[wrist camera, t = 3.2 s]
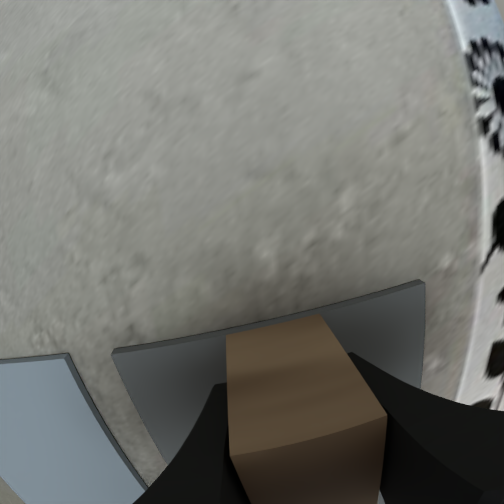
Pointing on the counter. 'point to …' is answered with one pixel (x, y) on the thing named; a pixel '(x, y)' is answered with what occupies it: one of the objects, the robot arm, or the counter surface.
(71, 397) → the slate mat
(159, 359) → the charcoal mat
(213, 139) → the counter surface
